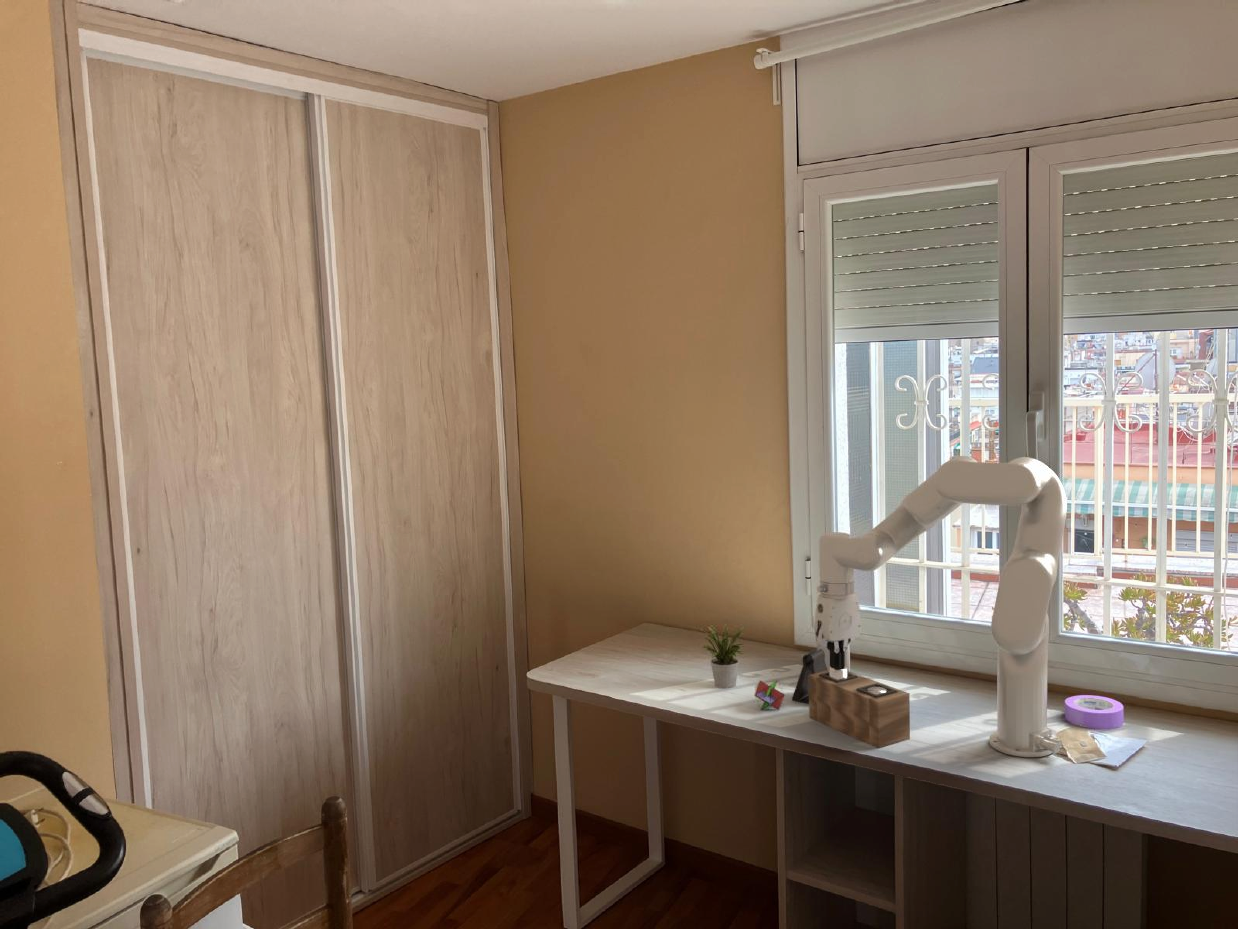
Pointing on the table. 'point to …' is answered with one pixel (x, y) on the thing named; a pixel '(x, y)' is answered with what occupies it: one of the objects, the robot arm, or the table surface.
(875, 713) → the block
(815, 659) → the phone stand
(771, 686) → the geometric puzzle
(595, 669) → the table surface
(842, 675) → the peg far
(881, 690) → the peg near
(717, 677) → the house plant
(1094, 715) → the masking tape
